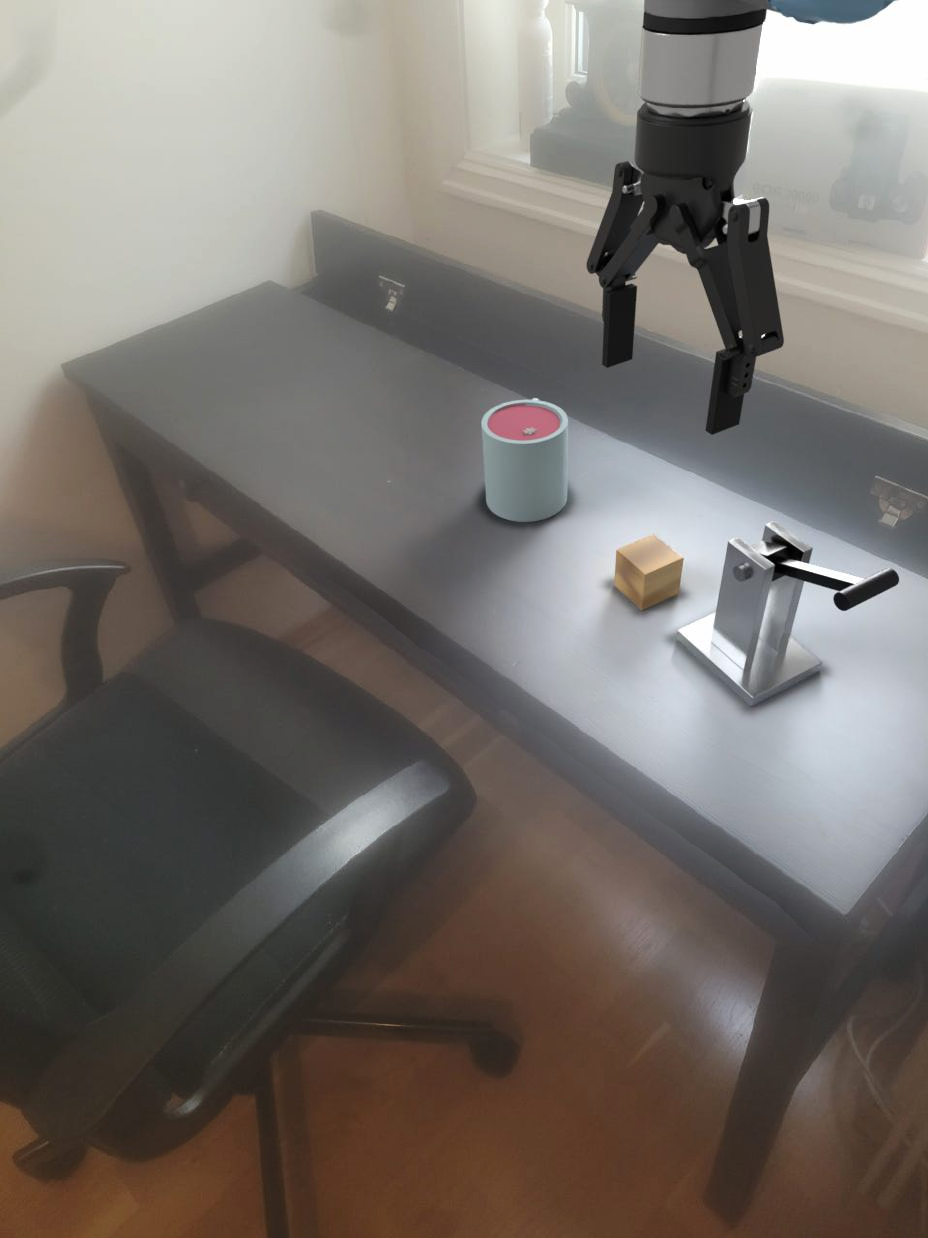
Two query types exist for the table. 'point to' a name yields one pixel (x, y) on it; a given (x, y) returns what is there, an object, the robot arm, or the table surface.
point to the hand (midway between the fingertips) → (666, 393)
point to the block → (648, 571)
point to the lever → (828, 577)
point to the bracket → (754, 622)
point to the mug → (525, 459)
